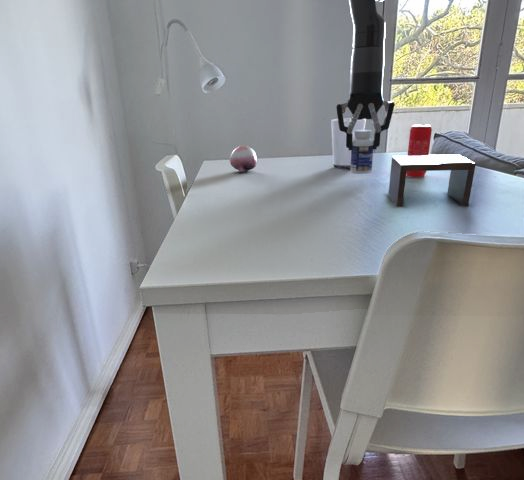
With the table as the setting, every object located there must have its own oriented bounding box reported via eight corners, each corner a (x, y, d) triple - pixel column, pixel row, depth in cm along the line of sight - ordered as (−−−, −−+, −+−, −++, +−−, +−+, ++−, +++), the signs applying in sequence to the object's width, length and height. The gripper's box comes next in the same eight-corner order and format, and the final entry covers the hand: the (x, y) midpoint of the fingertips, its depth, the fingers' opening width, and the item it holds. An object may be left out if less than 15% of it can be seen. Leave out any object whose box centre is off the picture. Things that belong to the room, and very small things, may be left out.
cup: (369, 166, 140) (372, 118, 133) (350, 170, 134) (353, 121, 127) (341, 163, 146) (343, 117, 139) (322, 167, 140) (323, 120, 133)
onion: (260, 169, 141) (259, 143, 137) (253, 174, 134) (252, 147, 131) (234, 169, 142) (233, 144, 139) (227, 174, 136) (225, 147, 132)
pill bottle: (358, 175, 117) (360, 132, 112) (346, 172, 121) (347, 130, 116) (376, 172, 118) (379, 130, 114) (363, 170, 123) (366, 129, 118)
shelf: (452, 193, 104) (459, 153, 100) (468, 205, 94) (476, 162, 90) (388, 194, 105) (392, 155, 101) (396, 206, 95) (401, 163, 91)
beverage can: (402, 176, 123) (407, 126, 117) (409, 173, 127) (414, 124, 121) (421, 178, 120) (428, 126, 114) (428, 174, 124) (435, 124, 118)
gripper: (336, 72, 106) (333, 152, 114) (401, 68, 105) (394, 150, 113) (334, 72, 113) (332, 148, 121) (396, 69, 111) (389, 146, 119)
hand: (362, 149), depth 117 cm, fingers closed on pill bottle, 5 cm apart
